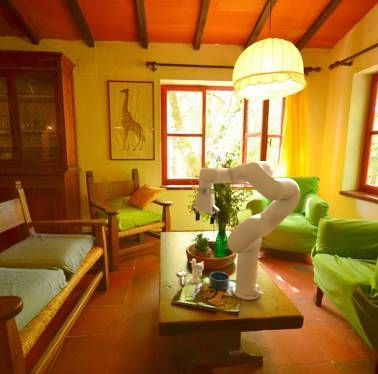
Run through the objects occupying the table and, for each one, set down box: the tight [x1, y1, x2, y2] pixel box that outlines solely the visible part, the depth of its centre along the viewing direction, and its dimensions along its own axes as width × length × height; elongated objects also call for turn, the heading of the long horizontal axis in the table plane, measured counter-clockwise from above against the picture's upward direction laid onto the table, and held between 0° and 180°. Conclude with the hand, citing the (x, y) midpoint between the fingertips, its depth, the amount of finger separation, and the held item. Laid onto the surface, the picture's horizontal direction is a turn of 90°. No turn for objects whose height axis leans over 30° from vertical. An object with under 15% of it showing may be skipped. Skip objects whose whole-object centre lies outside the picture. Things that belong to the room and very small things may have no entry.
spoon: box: [177, 270, 187, 286], centre depth 132 cm, size 14×4×1 cm, turn 4°
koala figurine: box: [188, 258, 205, 284], centre depth 130 cm, size 8×7×12 cm
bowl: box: [208, 271, 231, 291], centre depth 126 cm, size 10×10×5 cm
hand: (204, 222), depth 137 cm, fingers open, 9 cm apart
